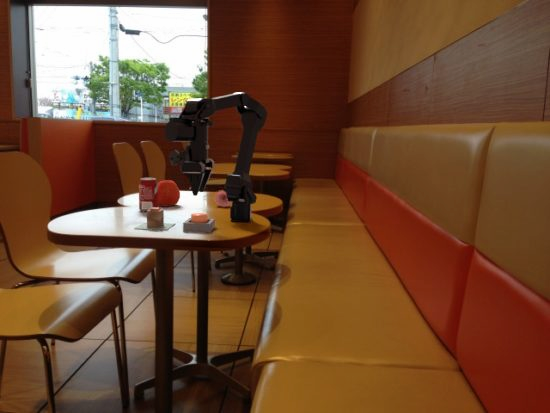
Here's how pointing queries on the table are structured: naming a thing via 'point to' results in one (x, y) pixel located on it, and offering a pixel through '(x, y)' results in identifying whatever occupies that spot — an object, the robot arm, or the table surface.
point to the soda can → (148, 193)
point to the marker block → (155, 217)
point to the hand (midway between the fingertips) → (198, 193)
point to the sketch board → (164, 227)
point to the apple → (168, 193)
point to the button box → (198, 226)
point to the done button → (199, 218)
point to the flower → (222, 199)
